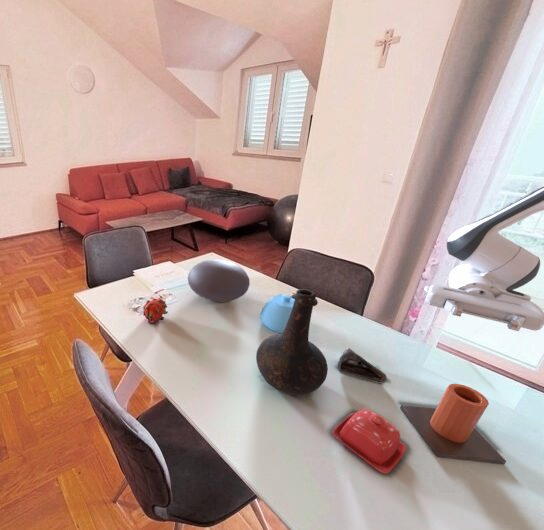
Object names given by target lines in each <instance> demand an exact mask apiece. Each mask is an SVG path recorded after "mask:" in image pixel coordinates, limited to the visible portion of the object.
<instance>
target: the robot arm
mask: <svg viewBox="0 0 544 530" xmlns="http://www.w3.org/2000/svg"><path fill="white" fill-rule="evenodd" d="M543 211H544V186H542V187H539V188H537V189H535V190H534V191H532V192H529V193H527V194H526V195H524V196H522V197H520V198H518V199H516V200H514V201H512V202H510V203H508V204H507V205H505V206H503V207H501V208H499V209H497V210H496V211H493V212H492V213H490V214H488V215H486V216H484V217H482V218H480V219H478V220H476V221H474V222H472V223H469V224H467V225H465V226H463V227H461V228H459V229H457V230H455V231H454V232H453V233H452V234H451V235H450V236H448V238H447V239H446V250H447V253H448V255H449V256H451V257H453V258H455V259H457V260H459V261H461V262H463V263H462V264H459V265H457V266H455V267H454V268H453V269H452V270H451V271H450V273H449V276H448V280H447V281H448V282H447V283H448V286H447V285H442V284H431V285H425V286H424V289H423V290H424V292H425V293H427V294H426V296H425V300H424V302H425V303H426V304H427V305H429V306H433V307H436V308H441V309H444V310H446V311H448V312H450V314H451V315H452V316H455V317H461V316H462V314H465V315H469V316H473V317H478V318H481V319H485V320H490V321H493V322H496V323H497V322H498V323H502V324H506V327H507V329H508V330H512V331H515V332H519V331H520V330H521V328H523V329H526V330H531V331H535V332H536V331H540V330H542V328H543V327H544V311H543V310H542V309H541V308H540V306H538V305H537V304H536V303H534V302H532V301H531V299H532V297H531V296H530V295H529V294H526V293H523V292H520V291H516V290H517V289H519V288H522V287H523V286H525V285H526V284H527V285H528V283H530V282H531V281H533V280H534V279H535V278H536V277H537V275H538V273H539V271H540V267H541V259H540V257H539V256H537V255H535V254H534V253H532V252H531V251H530V250H527V249H526V248H524V247H522V246H521V245H519V244H516V243H515V242H513V241H511V240H510V239H508V238H507V237H505V236H503V235H502V234H500V231H502V230H504V229H506V228H508V227H510V226H512V225H514V224H516V223H518V222H520V221H522V220H524V219H526V218H528V217H531V216H532V215H534V214H537V213H539V212H543Z"/></svg>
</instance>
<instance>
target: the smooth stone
mask: <svg viewBox="0 0 544 530" xmlns="http://www.w3.org/2000/svg"><path fill="white" fill-rule="evenodd" d="M187 283H188V285H189V287H190V289H191V291H193V292H194V293H195V294H196V295H198V296H199V297H201V298H203V299H204V300H208V301H212V302H220V303H222V302H223V303H224V302H231V301H235V300H238V299H239V298H241V297H243V296H244V295H245V294H246V293H247V292H248V290H249V288H250V285H251V284H250V277H249V275H248V273H247V272H246V271H245V270H244V268H242V267H241V266H239V265H238V264H236V263H234V262H232V261H228V260H225V259H224V260H223V259H208V260H204V261H201V262H198V263H197V264H195V265H194V266H193V267H191V269H190V270H189V272H188V276H187Z"/></svg>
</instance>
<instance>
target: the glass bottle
mask: <svg viewBox="0 0 544 530" xmlns="http://www.w3.org/2000/svg"><path fill="white" fill-rule="evenodd" d="M290 296H291V297H292V298H293V299H295V301H294V304H293V307H292V311H291V314H290V317H289V319H288V322H287V324H286V326H285V329H284V331H283V332H282V333H277V334H273V335H270V336H268V337H267V338H265V339H264V340H263V341H262V342H261V343H260V344H259V345H258V347H257V350H256V354H255V355H256V356H255V360H256V365H257V368H258V371H259V373H260V376H261V377H262V378H263V379H264V381H265V382H266V383H267V384H268V385H269V386H270V387H272V388H274V389H275V390H277V391H279V392H281V393H284V394H287V395H291V396H302V395H303V396H304V395H308V394H311V393H313V392H315V391H317V390H318V389H320V388H321V386H322V385H323V384H324V383H325V381H326V379H327V377H328V371H329V367H328V362H327V359H326V357H325V355H324V353H323V352H322V351H321V350H320V348H319V347H317V345H316V344H314V343H312V342H311V341H310V340H309V336H310V335H309V334H310V327H311V326H310V325H311V319H312V314H313V309H314V307H317V306H318V303H319V301H318V299H317V296H318V295H317V293H316V292H314V291H312V290H309V289H306V288H300V289H297V290H296V292H295V293H294V294H292V295H290Z"/></svg>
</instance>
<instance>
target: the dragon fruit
mask: <svg viewBox="0 0 544 530" xmlns="http://www.w3.org/2000/svg"><path fill="white" fill-rule="evenodd" d="M167 308H168V306H167V304H166V301H165V300H164V299H162V298H161V297H158V298H155V297H153V298H152V299H151V300H150V299H149V300H146V303H145V304H144V306H143V307H142V309H143V310H142V311H143V316H144V318H145V319H146V320H147V323H149V324H150V323H156V321H157V320H158V321H163V320H164V319H165V317H164V316H163V315H167V314H168V313H169V311H167Z"/></svg>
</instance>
